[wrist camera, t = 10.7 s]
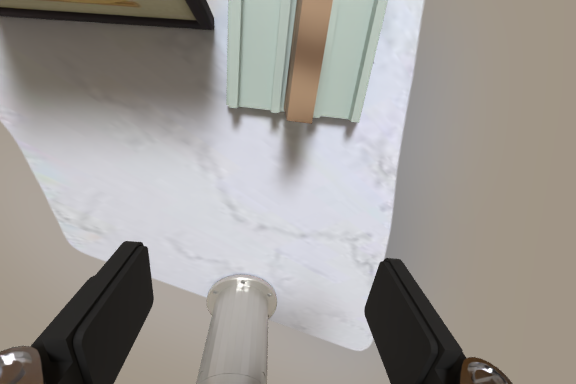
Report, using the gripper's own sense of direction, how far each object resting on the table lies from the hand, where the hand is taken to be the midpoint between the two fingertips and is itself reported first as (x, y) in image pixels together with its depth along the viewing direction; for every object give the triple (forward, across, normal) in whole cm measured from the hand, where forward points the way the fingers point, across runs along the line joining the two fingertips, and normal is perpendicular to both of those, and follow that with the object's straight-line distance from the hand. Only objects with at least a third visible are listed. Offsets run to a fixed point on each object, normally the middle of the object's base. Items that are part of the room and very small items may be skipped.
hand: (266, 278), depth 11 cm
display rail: (+27, -3, -10) cm, 29 cm away
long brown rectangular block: (+26, -3, -10) cm, 28 cm away
